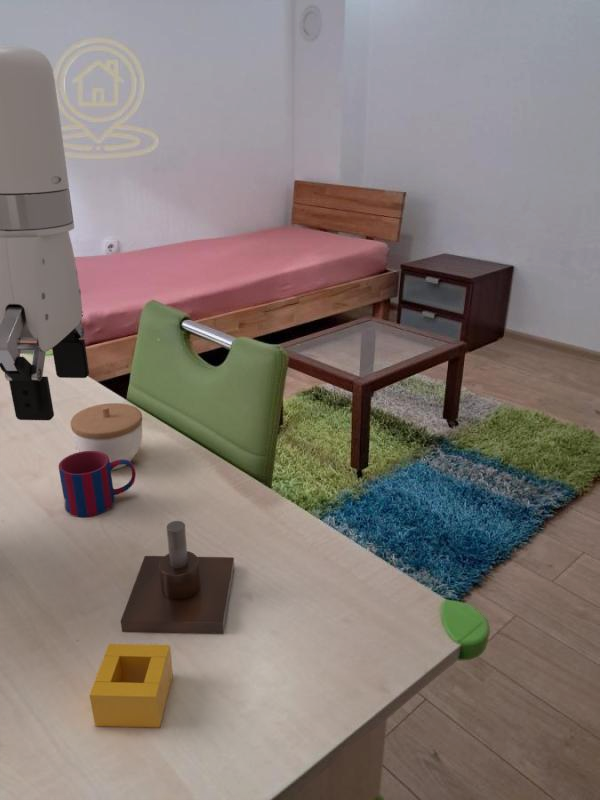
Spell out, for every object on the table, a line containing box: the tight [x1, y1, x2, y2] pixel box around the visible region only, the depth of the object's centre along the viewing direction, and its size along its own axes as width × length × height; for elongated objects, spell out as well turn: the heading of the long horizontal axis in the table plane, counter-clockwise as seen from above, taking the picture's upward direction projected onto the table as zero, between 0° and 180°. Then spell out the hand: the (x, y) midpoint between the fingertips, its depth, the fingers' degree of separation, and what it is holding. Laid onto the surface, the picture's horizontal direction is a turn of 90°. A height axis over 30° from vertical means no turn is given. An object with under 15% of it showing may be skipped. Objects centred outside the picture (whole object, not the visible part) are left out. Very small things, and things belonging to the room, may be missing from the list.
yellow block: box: [89, 643, 174, 728], centre depth 60 cm, size 6×6×4 cm
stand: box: [120, 520, 235, 634], centre depth 71 cm, size 11×11×10 cm
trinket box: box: [70, 402, 143, 471], centre depth 100 cm, size 11×11×9 cm
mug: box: [58, 451, 137, 518], centre depth 89 cm, size 7×10×7 cm
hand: (55, 396), depth 61 cm, fingers open, 9 cm apart
